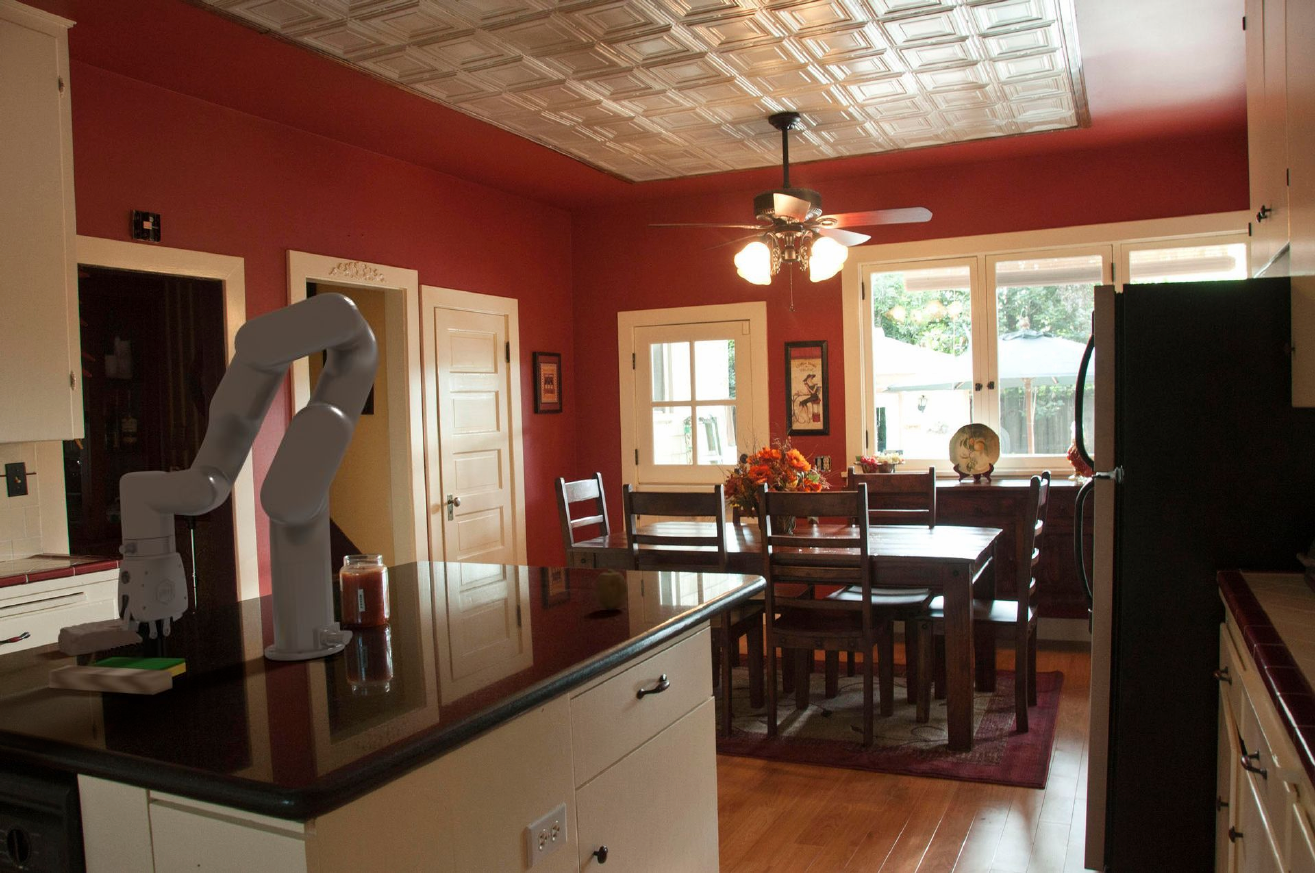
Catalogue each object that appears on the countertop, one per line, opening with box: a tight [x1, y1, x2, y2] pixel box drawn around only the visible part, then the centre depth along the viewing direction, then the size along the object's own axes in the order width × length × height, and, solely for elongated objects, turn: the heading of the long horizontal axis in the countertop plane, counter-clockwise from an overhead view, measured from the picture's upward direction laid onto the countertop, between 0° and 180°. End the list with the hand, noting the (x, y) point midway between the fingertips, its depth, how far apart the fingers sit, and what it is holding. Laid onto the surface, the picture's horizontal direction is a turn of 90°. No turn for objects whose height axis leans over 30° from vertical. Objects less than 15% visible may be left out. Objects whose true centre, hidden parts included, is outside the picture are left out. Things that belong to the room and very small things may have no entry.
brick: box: [57, 617, 171, 657], centre depth 176 cm, size 17×8×5 cm, turn 138°
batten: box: [48, 664, 173, 696], centre depth 145 cm, size 20×4×2 cm, turn 72°
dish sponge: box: [87, 656, 187, 677], centre depth 152 cm, size 7×14×2 cm, turn 77°
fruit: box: [594, 568, 628, 612], centre depth 187 cm, size 6×6×8 cm
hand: (155, 660), depth 157 cm, fingers closed
